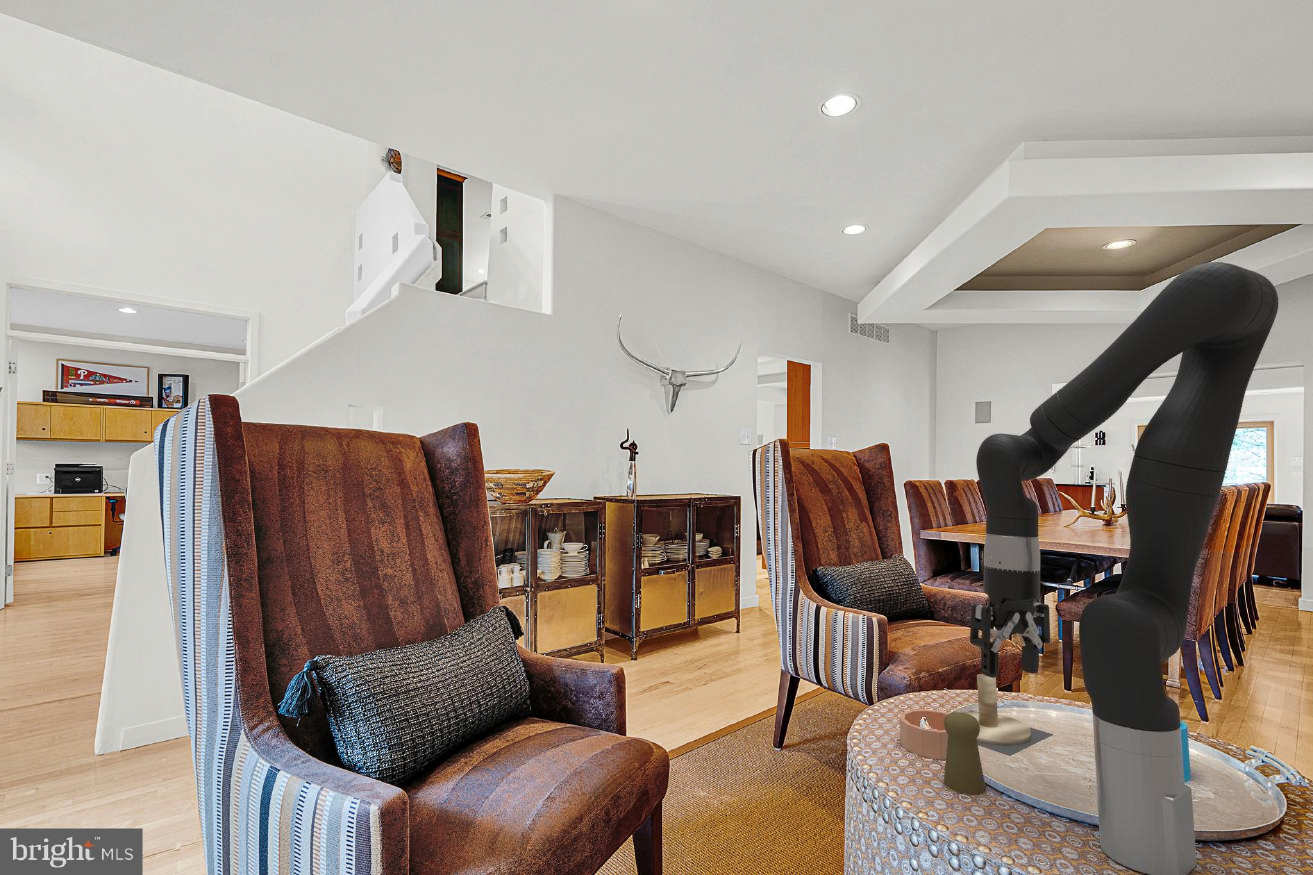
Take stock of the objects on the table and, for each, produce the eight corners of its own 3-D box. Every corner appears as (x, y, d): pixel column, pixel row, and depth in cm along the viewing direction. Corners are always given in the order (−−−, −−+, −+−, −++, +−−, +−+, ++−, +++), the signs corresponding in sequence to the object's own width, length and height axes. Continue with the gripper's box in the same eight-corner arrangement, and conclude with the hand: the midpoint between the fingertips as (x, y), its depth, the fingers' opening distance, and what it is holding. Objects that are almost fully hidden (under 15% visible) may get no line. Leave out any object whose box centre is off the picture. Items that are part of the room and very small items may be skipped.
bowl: (980, 751, 115) (978, 722, 115) (944, 767, 109) (943, 736, 109) (924, 732, 124) (923, 705, 124) (888, 745, 118) (887, 717, 118)
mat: (1053, 736, 121) (1053, 734, 121) (1010, 757, 112) (1009, 755, 112) (971, 712, 134) (971, 710, 134) (926, 729, 125) (926, 727, 125)
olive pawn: (976, 777, 105) (973, 708, 106) (992, 795, 99) (988, 722, 100) (938, 776, 105) (935, 707, 106) (951, 794, 99) (948, 721, 100)
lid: (1045, 733, 121) (1042, 678, 122) (1006, 752, 113) (1004, 692, 114) (973, 712, 133) (971, 662, 133) (934, 727, 125) (931, 674, 126)
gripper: (1000, 569, 91) (999, 685, 90) (1066, 568, 97) (1066, 678, 96) (956, 562, 98) (955, 670, 97) (1021, 561, 104) (1020, 664, 103)
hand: (1010, 674), depth 97 cm, fingers open, 8 cm apart
